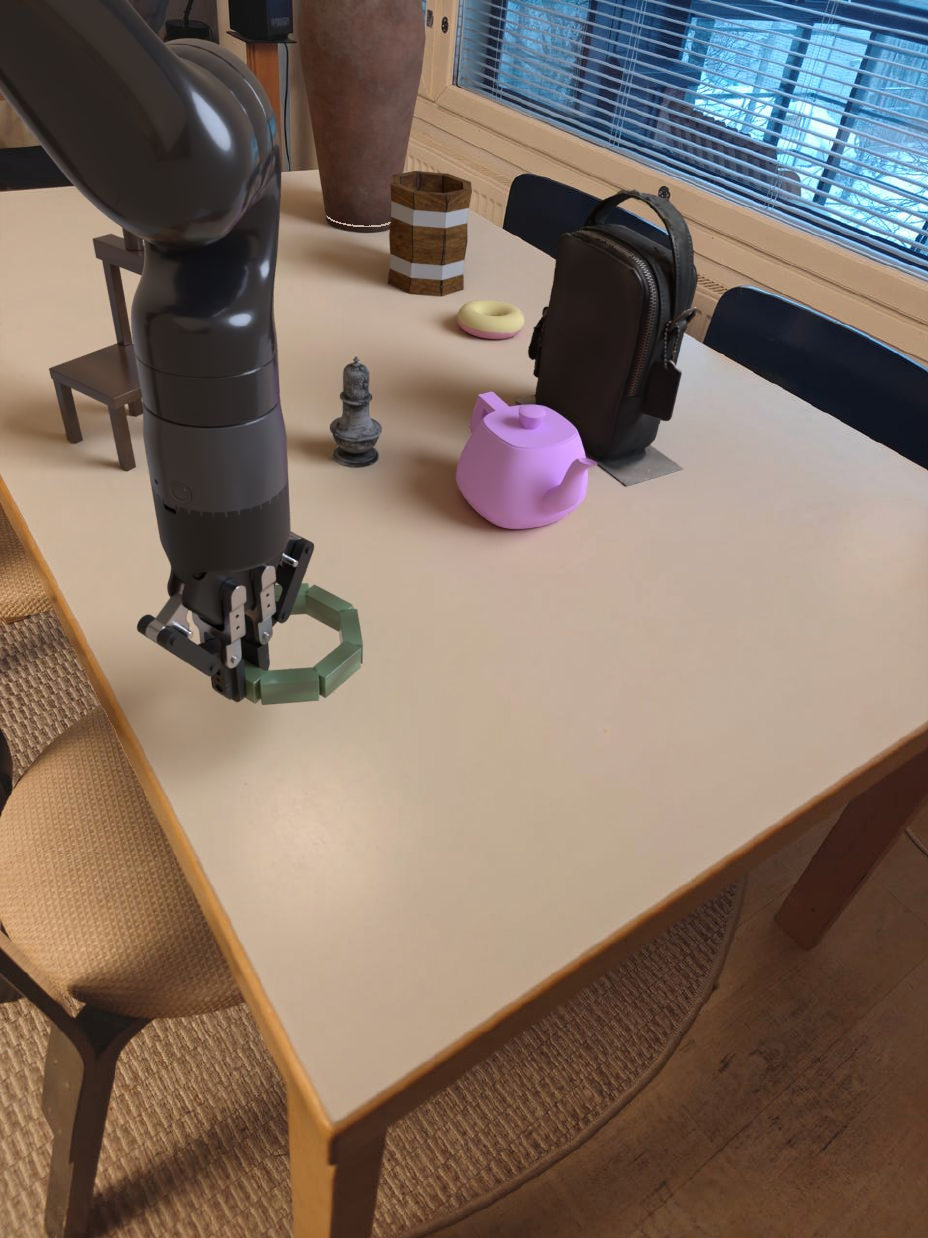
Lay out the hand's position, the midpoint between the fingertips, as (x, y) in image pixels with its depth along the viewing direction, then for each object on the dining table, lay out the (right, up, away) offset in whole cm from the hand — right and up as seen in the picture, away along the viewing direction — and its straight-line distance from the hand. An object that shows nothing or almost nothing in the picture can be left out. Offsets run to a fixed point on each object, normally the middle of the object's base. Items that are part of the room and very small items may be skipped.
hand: (242, 686), depth 59 cm
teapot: (+22, +17, +35) cm, 45 cm away
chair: (-22, +25, +38) cm, 51 cm away
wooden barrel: (+8, +63, +85) cm, 106 cm away
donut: (+19, +48, +70) cm, 88 cm away
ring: (+2, +2, +3) cm, 5 cm away
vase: (-5, +82, +106) cm, 133 cm away
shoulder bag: (+32, +28, +49) cm, 64 cm away
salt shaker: (+3, +23, +40) cm, 46 cm away
